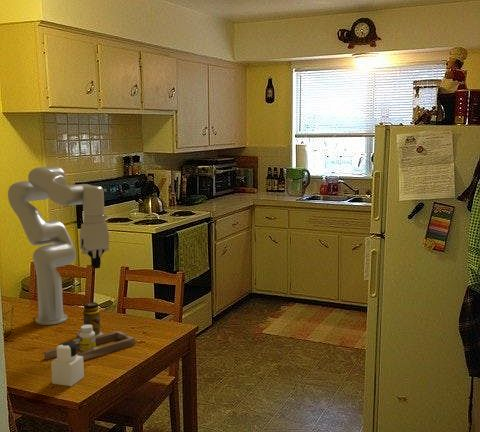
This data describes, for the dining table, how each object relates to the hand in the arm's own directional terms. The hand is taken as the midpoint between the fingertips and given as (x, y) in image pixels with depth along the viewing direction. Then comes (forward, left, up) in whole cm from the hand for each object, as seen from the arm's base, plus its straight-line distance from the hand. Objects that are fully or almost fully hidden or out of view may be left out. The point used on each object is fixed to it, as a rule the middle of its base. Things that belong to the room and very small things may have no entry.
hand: (96, 267), depth 206 cm
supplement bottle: (+11, -11, -27) cm, 31 cm away
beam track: (+10, -9, -27) cm, 30 cm away
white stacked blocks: (+27, -26, -27) cm, 46 cm away
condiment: (-5, -1, -27) cm, 28 cm away
